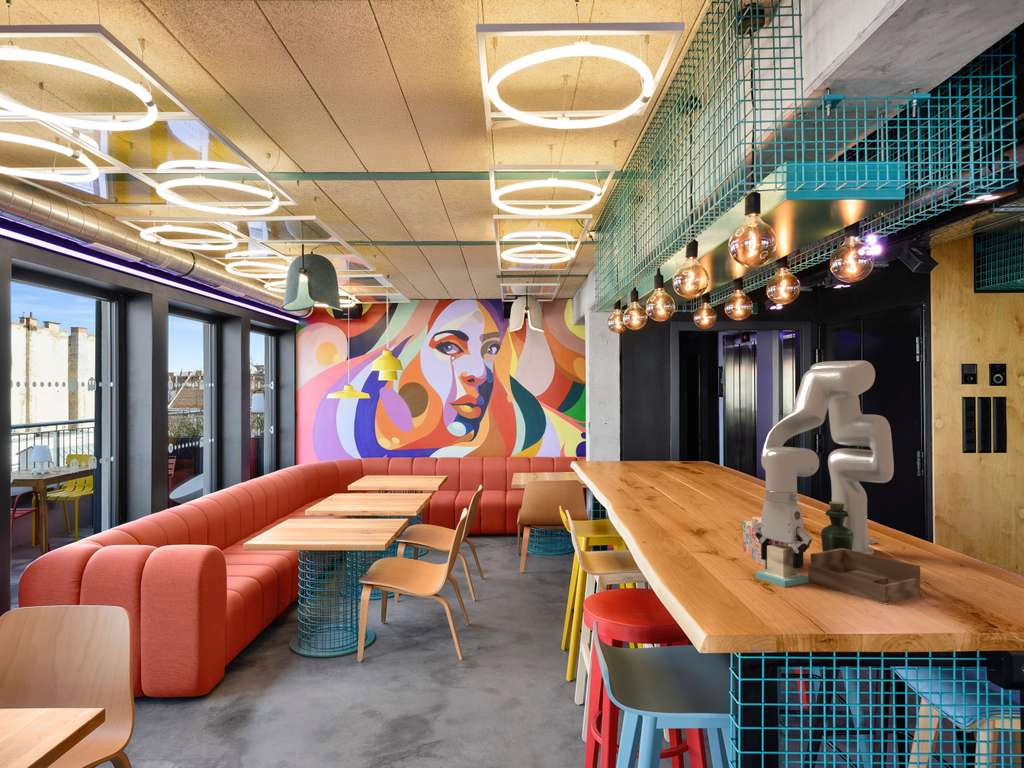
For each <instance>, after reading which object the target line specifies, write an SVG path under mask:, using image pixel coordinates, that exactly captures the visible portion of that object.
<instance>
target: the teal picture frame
mask: <svg viewBox="0 0 1024 768" xmlns="http://www.w3.org/2000/svg"><path fill="white" fill-rule="evenodd" d="M755 579H758V580H761V581H763V582H767V583H770V584H774V585H777V586H780V587H783V588H788V587H792V586H797V585H801V584H806V583H810V582H809V576H808V575H806V574H805V575H804V574H801V573H798V572H797V575H794V576H789V577H784V578H783V577H780V576H776V575H773V574H770V573H767V569H765V570H759V571H756V572H755Z"/></svg>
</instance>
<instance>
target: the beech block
mask: <svg viewBox="0 0 1024 768" xmlns="http://www.w3.org/2000/svg"><path fill="white" fill-rule="evenodd" d="M794 552H795V551H794V550H793V548H792V546H791V545H788V546H787V545H783V544H775V545H769V546H767V569H766V570H767V573H770V574H773V575H776V576H780V577H783V578H784V577H789V576H794V575H797V573H798V572H797V569H794V568H793V553H794Z"/></svg>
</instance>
